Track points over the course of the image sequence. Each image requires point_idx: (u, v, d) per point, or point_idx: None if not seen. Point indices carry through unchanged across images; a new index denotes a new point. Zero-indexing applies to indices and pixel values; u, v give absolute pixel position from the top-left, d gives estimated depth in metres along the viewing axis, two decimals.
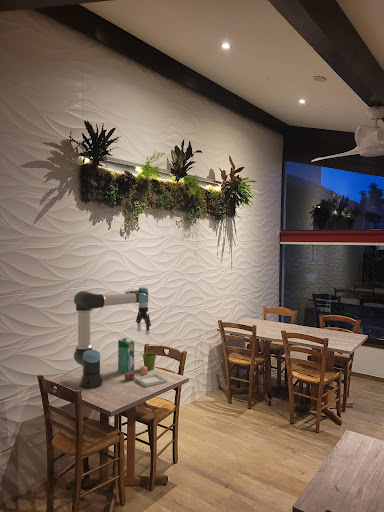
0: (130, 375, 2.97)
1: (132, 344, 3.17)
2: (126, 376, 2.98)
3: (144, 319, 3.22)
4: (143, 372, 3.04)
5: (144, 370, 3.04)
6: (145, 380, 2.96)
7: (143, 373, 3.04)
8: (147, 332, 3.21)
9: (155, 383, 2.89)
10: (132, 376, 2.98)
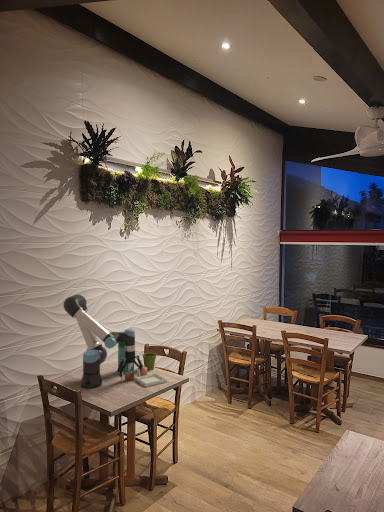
0: (130, 375, 2.97)
1: None
2: (126, 376, 2.98)
3: None
4: (143, 372, 3.04)
5: (144, 370, 3.04)
6: (145, 380, 2.96)
7: (143, 373, 3.04)
8: (121, 378, 2.95)
9: (155, 383, 2.89)
10: (132, 376, 2.98)
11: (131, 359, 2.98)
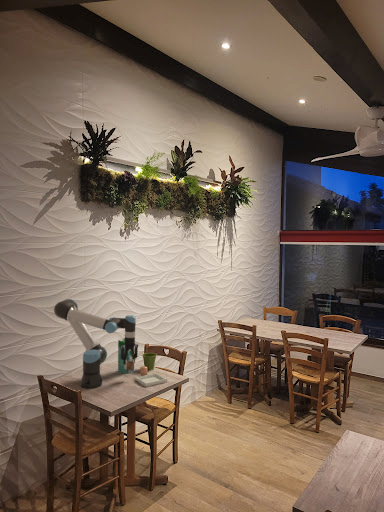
0: (129, 364, 2.96)
1: None
2: None
3: None
4: (143, 372, 3.04)
5: (144, 370, 3.04)
6: (145, 380, 2.96)
7: (143, 373, 3.04)
8: (124, 366, 2.97)
9: (155, 383, 2.89)
10: (131, 365, 2.97)
11: (130, 345, 2.98)
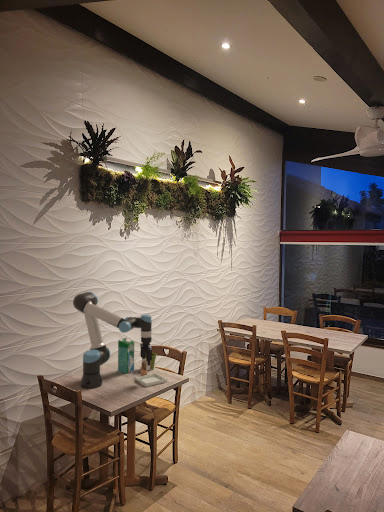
0: None
1: (132, 344, 3.17)
2: None
3: (146, 351, 2.89)
4: (143, 372, 3.04)
5: (144, 370, 3.04)
6: (145, 380, 2.96)
7: (143, 373, 3.04)
8: (148, 367, 2.90)
9: (155, 383, 2.89)
10: None
11: None
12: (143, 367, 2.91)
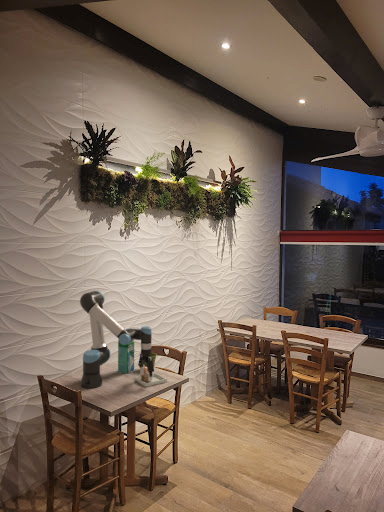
0: None
1: (132, 344, 3.17)
2: (147, 379, 2.91)
3: (147, 363, 2.89)
4: None
5: (144, 370, 3.04)
6: None
7: None
8: (150, 378, 2.88)
9: (155, 383, 2.89)
10: None
11: None
12: (142, 380, 2.92)
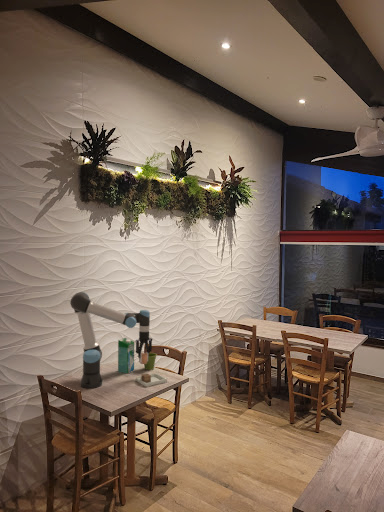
0: None
1: (132, 344, 3.17)
2: (147, 379, 2.91)
3: (140, 344, 3.05)
4: (143, 358, 3.03)
5: (144, 356, 3.03)
6: None
7: (143, 359, 3.03)
8: (139, 359, 3.04)
9: (155, 383, 2.89)
10: None
11: (145, 339, 3.05)
12: (142, 380, 2.92)
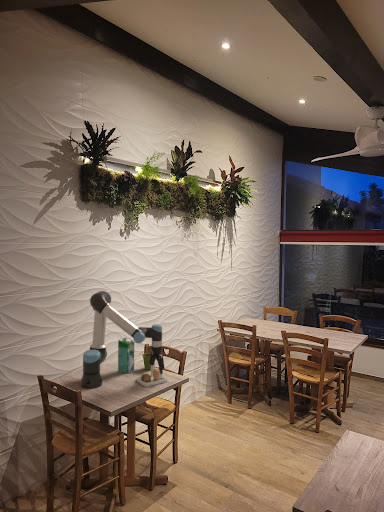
0: None
1: (132, 344, 3.17)
2: (147, 379, 2.91)
3: (157, 360, 2.94)
4: None
5: None
6: None
7: None
8: (160, 375, 2.93)
9: (155, 383, 2.89)
10: None
11: None
12: (142, 380, 2.92)
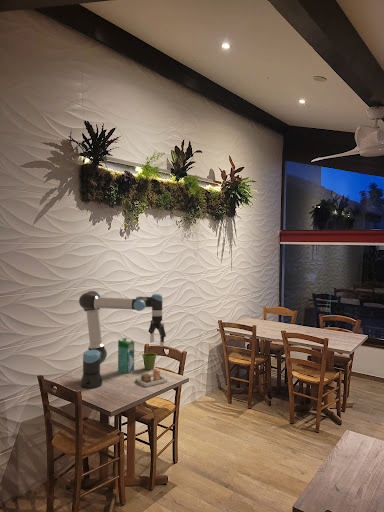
0: None
1: (132, 344, 3.17)
2: (147, 379, 2.91)
3: (158, 329, 2.93)
4: None
5: None
6: None
7: None
8: (161, 343, 2.91)
9: (155, 383, 2.89)
10: None
11: None
12: (142, 380, 2.92)
